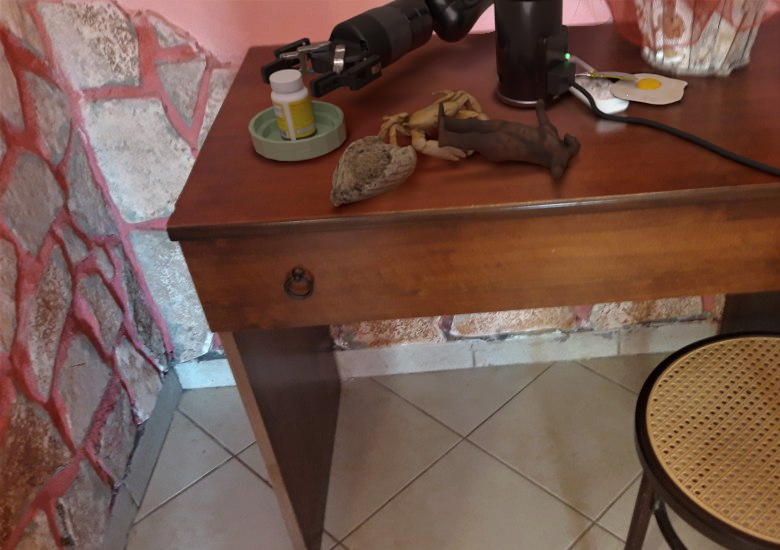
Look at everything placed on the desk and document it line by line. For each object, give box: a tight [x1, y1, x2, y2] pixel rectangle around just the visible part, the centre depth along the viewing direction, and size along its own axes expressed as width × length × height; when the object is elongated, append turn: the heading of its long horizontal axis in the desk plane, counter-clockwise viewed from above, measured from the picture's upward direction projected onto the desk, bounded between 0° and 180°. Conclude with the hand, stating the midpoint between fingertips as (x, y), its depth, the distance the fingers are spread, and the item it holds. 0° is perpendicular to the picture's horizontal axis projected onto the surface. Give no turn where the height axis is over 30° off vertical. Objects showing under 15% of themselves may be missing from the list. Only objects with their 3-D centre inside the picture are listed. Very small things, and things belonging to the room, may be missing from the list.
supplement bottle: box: [270, 69, 318, 141], centre depth 99 cm, size 5×5×8 cm
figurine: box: [436, 99, 581, 180], centre depth 94 cm, size 18×5×18 cm
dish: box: [247, 99, 348, 162], centre depth 101 cm, size 12×12×3 cm
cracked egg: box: [609, 73, 688, 105], centre depth 111 cm, size 10×11×1 cm
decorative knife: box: [584, 69, 638, 82], centre depth 113 cm, size 12×1×5 cm
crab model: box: [376, 89, 491, 162], centre depth 99 cm, size 16×13×6 cm
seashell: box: [329, 135, 418, 207], centre depth 90 cm, size 11×7×10 cm
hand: (287, 83), depth 97 cm, fingers open, 8 cm apart
